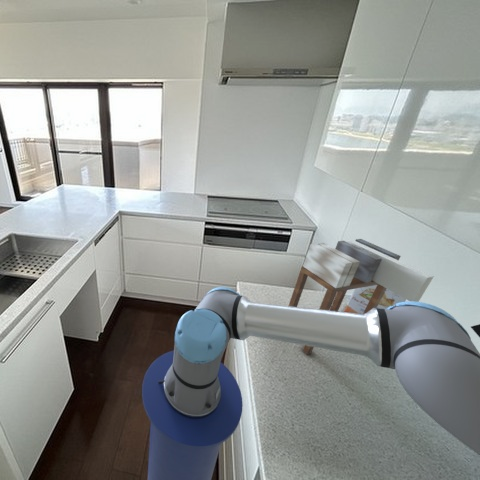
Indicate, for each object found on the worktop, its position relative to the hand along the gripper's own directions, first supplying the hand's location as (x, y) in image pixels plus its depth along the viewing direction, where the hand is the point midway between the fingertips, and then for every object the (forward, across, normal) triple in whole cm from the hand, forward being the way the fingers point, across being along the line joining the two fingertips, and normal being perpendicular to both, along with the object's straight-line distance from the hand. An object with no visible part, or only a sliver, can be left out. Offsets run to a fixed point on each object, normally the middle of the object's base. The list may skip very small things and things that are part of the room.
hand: (459, 329), depth 60 cm
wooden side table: (+9, -5, -35) cm, 36 cm away
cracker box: (+11, +20, -36) cm, 42 cm away
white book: (+18, 0, -10) cm, 20 cm away
